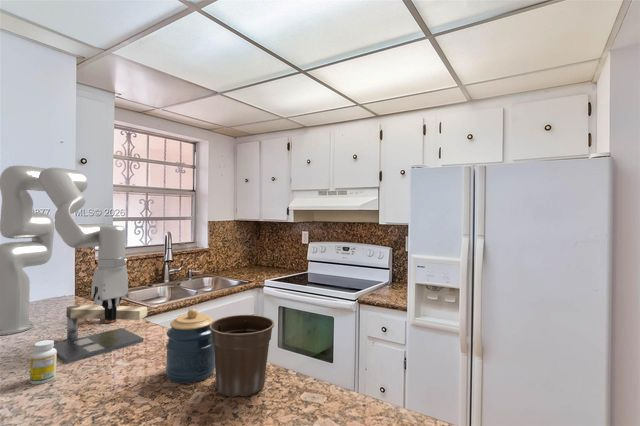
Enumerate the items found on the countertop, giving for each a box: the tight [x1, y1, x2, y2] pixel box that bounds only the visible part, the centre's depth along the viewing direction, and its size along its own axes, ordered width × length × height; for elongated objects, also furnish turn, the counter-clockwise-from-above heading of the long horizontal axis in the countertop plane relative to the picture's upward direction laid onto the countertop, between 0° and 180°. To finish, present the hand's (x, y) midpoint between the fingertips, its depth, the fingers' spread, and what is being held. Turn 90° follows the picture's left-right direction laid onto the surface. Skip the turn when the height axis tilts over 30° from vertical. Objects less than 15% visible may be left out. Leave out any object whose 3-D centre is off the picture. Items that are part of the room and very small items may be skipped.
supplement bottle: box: [29, 339, 58, 385], centre depth 90 cm, size 5×5×10 cm
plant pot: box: [210, 314, 275, 398], centre depth 89 cm, size 16×16×16 cm
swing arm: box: [65, 304, 148, 321], centre depth 117 cm, size 26×5×3 cm, turn 90°
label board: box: [53, 317, 145, 365], centre depth 114 cm, size 22×22×8 cm
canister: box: [165, 308, 215, 384], centre depth 95 cm, size 13×13×18 cm
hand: (110, 319), depth 112 cm, fingers closed
